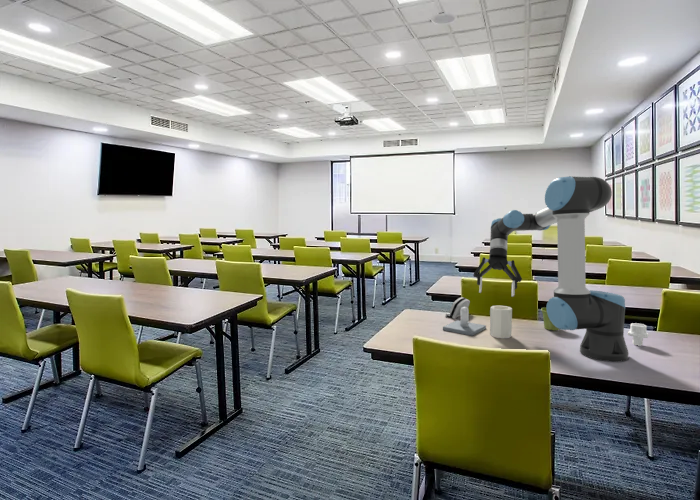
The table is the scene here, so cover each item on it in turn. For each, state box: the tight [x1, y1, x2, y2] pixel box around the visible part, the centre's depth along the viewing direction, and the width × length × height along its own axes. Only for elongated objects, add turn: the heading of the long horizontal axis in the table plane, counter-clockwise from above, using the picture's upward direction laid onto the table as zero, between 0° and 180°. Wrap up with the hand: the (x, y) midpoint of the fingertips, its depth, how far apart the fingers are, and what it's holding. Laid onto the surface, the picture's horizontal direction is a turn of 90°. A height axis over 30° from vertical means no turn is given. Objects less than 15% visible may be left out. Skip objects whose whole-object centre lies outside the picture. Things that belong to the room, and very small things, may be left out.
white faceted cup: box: [489, 305, 513, 339], centre depth 176 cm, size 8×8×12 cm
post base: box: [442, 307, 487, 337], centre depth 186 cm, size 14×14×10 cm
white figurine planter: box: [627, 322, 649, 347], centre depth 162 cm, size 6×7×8 cm
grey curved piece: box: [444, 296, 471, 319], centre depth 212 cm, size 17×5×10 cm, turn 143°
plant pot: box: [540, 307, 560, 332], centre depth 185 cm, size 9×9×9 cm
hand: (496, 293), depth 180 cm, fingers open, 13 cm apart
